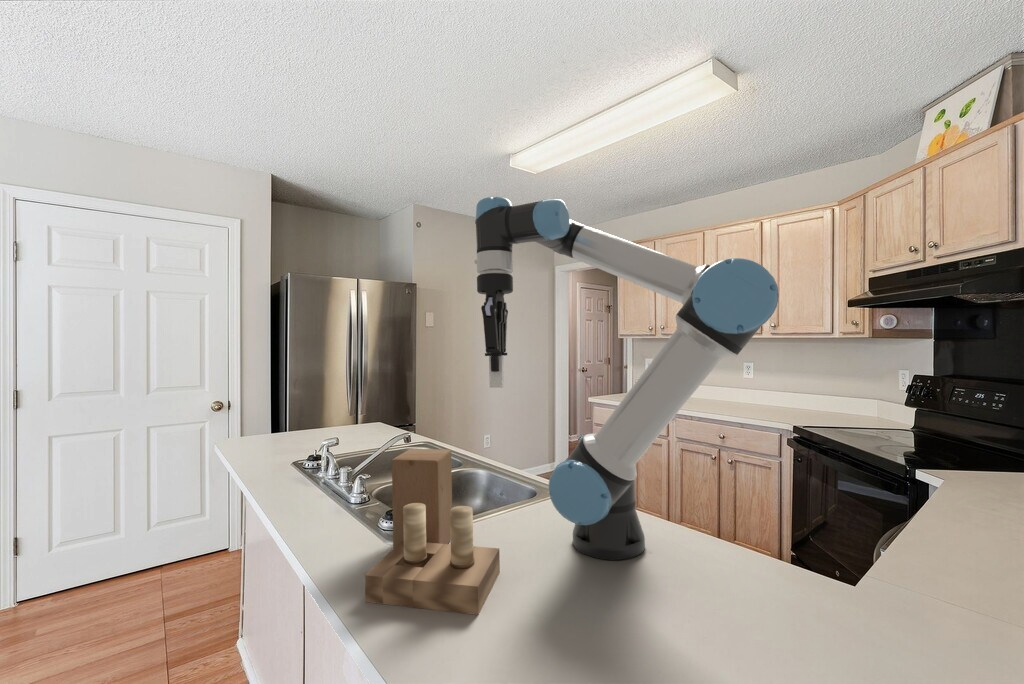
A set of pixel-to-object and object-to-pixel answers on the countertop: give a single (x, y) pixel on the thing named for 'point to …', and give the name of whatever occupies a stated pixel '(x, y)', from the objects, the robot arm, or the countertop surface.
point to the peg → (414, 535)
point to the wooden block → (423, 491)
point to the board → (438, 573)
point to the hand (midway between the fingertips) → (496, 387)
